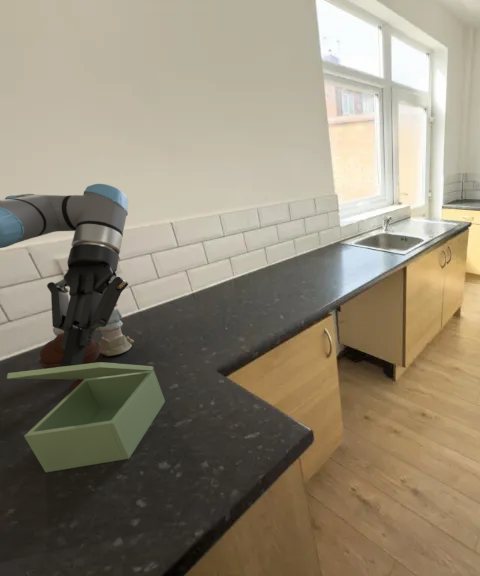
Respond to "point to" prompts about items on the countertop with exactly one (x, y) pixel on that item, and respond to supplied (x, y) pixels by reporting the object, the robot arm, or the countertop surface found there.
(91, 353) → the ice cream bowl
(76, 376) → the chest lid
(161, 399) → the chest
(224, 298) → the countertop surface
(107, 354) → the figurine
